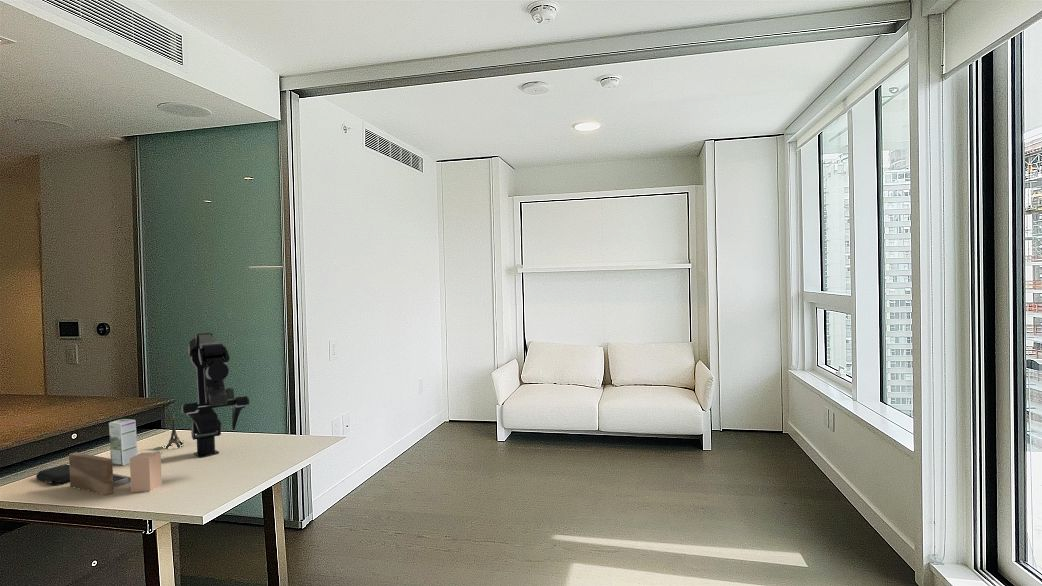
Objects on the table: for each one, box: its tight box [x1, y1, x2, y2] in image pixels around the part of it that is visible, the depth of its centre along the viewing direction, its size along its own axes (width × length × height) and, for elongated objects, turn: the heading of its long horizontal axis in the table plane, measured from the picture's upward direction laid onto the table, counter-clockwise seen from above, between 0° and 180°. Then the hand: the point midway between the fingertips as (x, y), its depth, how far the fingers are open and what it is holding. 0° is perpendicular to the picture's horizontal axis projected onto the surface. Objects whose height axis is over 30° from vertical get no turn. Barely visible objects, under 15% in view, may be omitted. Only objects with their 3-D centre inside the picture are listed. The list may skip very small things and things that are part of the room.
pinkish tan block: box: [129, 451, 163, 493], centre depth 176 cm, size 6×6×10 cm
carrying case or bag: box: [35, 464, 70, 485], centre depth 186 cm, size 11×3×15 cm
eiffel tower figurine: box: [152, 414, 184, 452], centre depth 220 cm, size 15×10×13 cm
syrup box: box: [108, 418, 138, 466], centre depth 202 cm, size 6×6×14 cm
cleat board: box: [68, 451, 131, 496], centre depth 179 cm, size 10×18×10 cm, turn 65°
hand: (217, 432), depth 186 cm, fingers open, 9 cm apart
